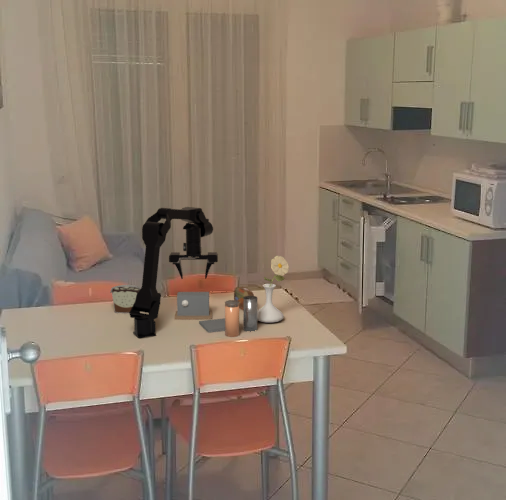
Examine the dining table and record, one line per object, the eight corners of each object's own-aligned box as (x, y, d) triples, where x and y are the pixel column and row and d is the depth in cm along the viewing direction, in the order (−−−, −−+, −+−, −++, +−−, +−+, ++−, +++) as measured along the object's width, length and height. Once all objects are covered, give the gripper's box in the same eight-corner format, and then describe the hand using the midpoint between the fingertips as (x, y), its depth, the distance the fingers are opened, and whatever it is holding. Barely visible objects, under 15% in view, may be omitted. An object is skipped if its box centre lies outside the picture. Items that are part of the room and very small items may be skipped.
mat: (208, 332, 247) (208, 330, 247) (199, 323, 257) (199, 321, 257) (237, 329, 251) (237, 326, 251) (227, 320, 261) (227, 318, 261)
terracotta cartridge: (228, 337, 242) (228, 304, 239) (222, 333, 246) (222, 301, 244) (241, 335, 244) (241, 303, 242) (235, 331, 248) (235, 299, 246)
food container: (145, 309, 275) (145, 284, 273) (141, 313, 269) (141, 288, 267) (115, 308, 276) (114, 283, 274) (110, 312, 270) (110, 287, 268)
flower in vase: (258, 326, 254) (259, 260, 249) (250, 317, 265) (250, 253, 260) (292, 323, 258) (293, 258, 253) (282, 314, 269) (283, 251, 263)
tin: (233, 304, 282) (233, 284, 280) (240, 303, 283) (240, 283, 282) (248, 314, 269) (248, 293, 267) (255, 313, 270) (256, 292, 268)
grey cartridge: (247, 332, 248) (247, 300, 245) (241, 328, 252) (241, 296, 249) (259, 330, 250) (259, 298, 247) (253, 326, 254) (253, 295, 252)
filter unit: (174, 319, 262) (174, 296, 260) (176, 313, 270) (175, 290, 268) (211, 319, 262) (211, 296, 260) (211, 313, 270) (211, 290, 268)
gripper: (217, 235, 275) (218, 273, 278) (170, 235, 274) (171, 273, 278) (217, 241, 264) (217, 280, 267) (168, 241, 263) (169, 280, 267)
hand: (193, 278), depth 270 cm, fingers open, 9 cm apart
